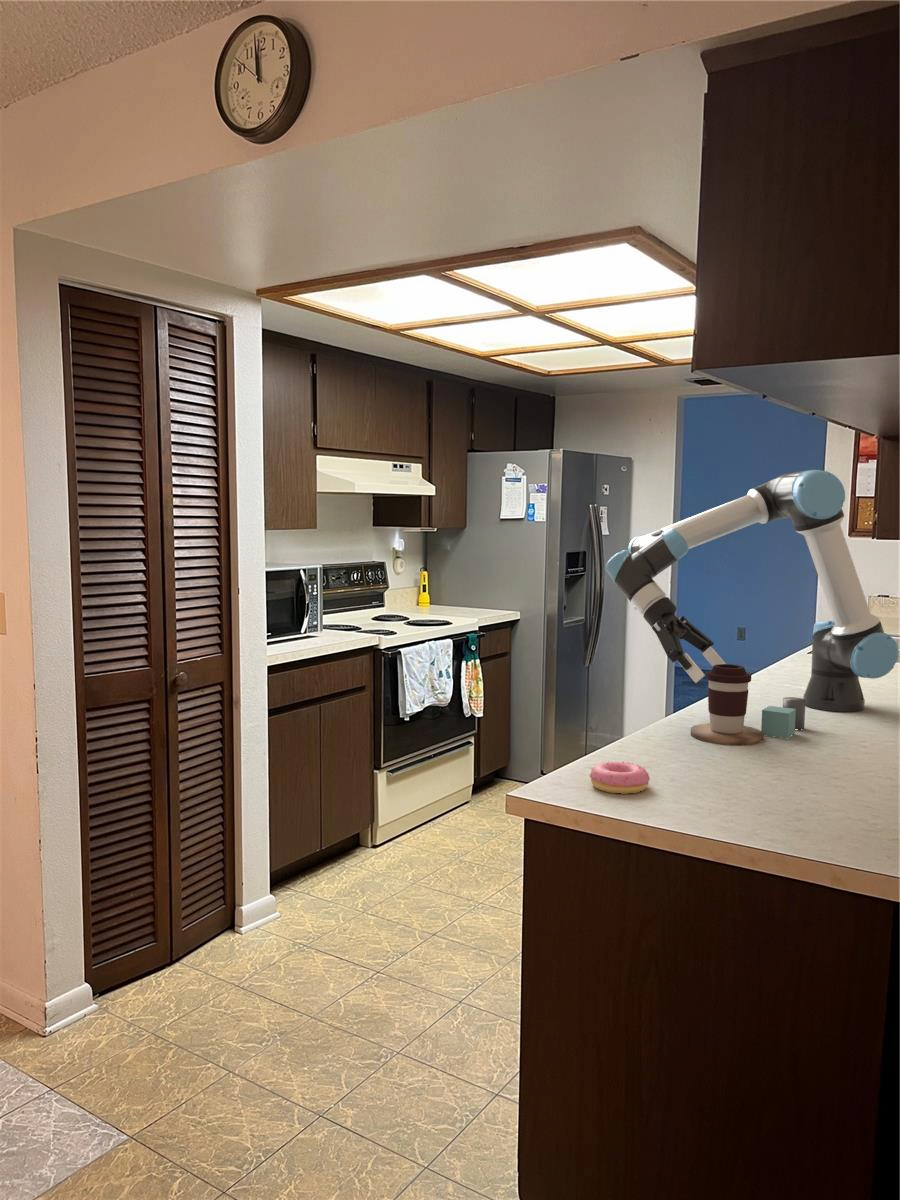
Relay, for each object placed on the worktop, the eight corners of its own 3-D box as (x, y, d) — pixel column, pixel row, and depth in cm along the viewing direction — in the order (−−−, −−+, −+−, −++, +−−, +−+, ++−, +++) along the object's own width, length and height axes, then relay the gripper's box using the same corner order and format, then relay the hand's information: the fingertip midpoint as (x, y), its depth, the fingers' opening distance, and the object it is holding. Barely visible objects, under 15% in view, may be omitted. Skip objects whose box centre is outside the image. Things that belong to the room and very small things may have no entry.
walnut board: (739, 726, 217) (739, 721, 217) (777, 743, 202) (777, 737, 202) (678, 729, 214) (678, 724, 214) (712, 746, 198) (712, 741, 198)
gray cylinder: (796, 725, 219) (797, 696, 219) (808, 729, 215) (809, 700, 214) (777, 726, 218) (778, 697, 218) (789, 730, 214) (791, 701, 213)
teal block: (768, 730, 214) (769, 705, 213) (794, 734, 211) (795, 708, 210) (761, 735, 209) (762, 710, 208) (787, 739, 206) (789, 713, 205)
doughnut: (661, 788, 168) (662, 766, 167) (625, 801, 160) (625, 778, 160) (613, 776, 176) (614, 754, 175) (577, 787, 168) (577, 765, 168)
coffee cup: (699, 732, 206) (701, 667, 204) (709, 724, 214) (711, 661, 213) (744, 738, 201) (747, 671, 200) (752, 728, 210) (755, 665, 208)
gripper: (667, 612, 228) (722, 677, 220) (618, 620, 209) (677, 693, 201) (687, 592, 224) (744, 658, 216) (640, 599, 205) (701, 672, 197)
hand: (712, 675), depth 208 cm, fingers open, 13 cm apart
